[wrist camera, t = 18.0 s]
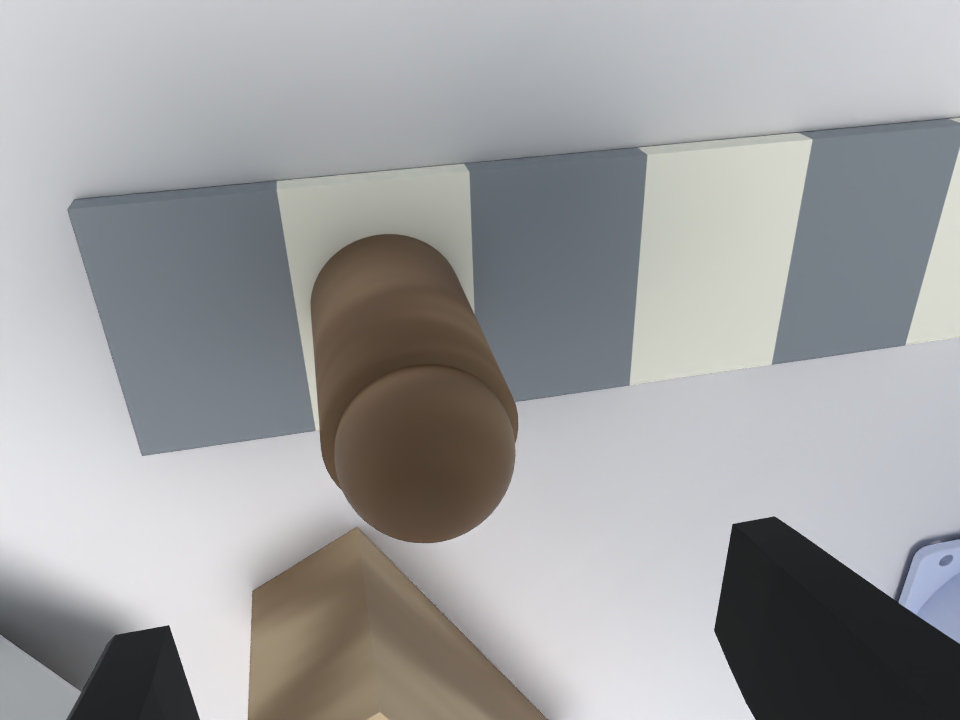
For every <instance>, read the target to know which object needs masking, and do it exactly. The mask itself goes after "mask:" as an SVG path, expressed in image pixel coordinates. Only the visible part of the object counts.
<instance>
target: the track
mask: <svg viewBox="0 0 960 720" xmlns="http://www.w3.org/2000/svg"><path fill="white" fill-rule="evenodd" d="M68 213H69V217H70V220H71V223H72V227H73V230H74V233H75V237H76V240H77V243H78V246H79V250H80V253H81V256H82V260H83V263H84V266H85V269H86V273H87V276H88V279H89V283H90V286H91V289H92V293H93V296H94V299H95V302H96V306H97V309H98V312H99V316H100V319H101V322H102V326H103V329H104V332H105V335H106V339H107V342H108V345H109V349H110V352H111V355H112V359H113V362H114V365H115V368H116V372H117V375H118V378H119V382H120V385H121V388H122V392H123V395H124V398H125V401H126V405H127V408H128V411H129V415H130V418H131V421H132V424H133V428H134V431H135V434H136V438H137V441H138V444H139V448H140V451H141V454H142V456H146V455H153V454H160V453H166V452H173V451H180V450H187V449H194V448H201V447H208V446H215V445H222V444H228V443H235V442H242V441H249V440H256V439H263V438H270V437H277V436H284V435H291V434H297V433H304V432H311V431H318V430H320V429H319V415H318V402H317V389H316V375H315V362H314V349H313V336H312V322H311V294H312V290H313V286H314V283H315V281H316V279H317V276H318V274H319V273H320V271H321V269H322V268H323V266H324V265H325V264H326V263H327V262H328V260H329V259H330V258H331V257H332V256H333V255H335V254H336V253H337V252H338V251H339V250H341V249H342V248H344V247H345V246H347V245H349V244H351V243H353V242H354V241H357V240H360V239H362V238H365V237H369V236H374V235H381V234H398V235H405V236H409V237H413V238H416V239H418V240H421V241H423V242H425V243H427V244H429V245H430V246H432V247H434V248H435V249H436V250H437V251H439V252H440V253H441V254H442V255H443V256H444V257H445V258H446V259H447V261H448V262H449V263H450V265H451V266H452V268H453V270H454V271H455V273H456V275H457V277H458V280H459V282H460V284H461V286H462V288H463V290H464V293H465V295H466V297H467V299H468V301H469V303H470V306H471V308H472V310H473V312H474V314H475V316H476V319H477V321H478V323H479V325H480V327H481V329H482V332H483V334H484V336H485V338H486V340H487V342H488V344H489V347H490V349H491V351H492V353H493V355H494V357H495V360H496V362H497V364H498V366H499V368H500V370H501V373H502V375H503V377H504V379H505V381H506V383H507V386H508V388H509V390H510V392H511V394H512V396H513V399H514V402H518V401H525V400H532V399H539V398H546V397H553V396H559V395H566V394H573V393H580V392H587V391H594V390H601V389H608V388H615V387H622V386H628V385H635V384H642V383H649V382H656V381H663V380H670V379H677V378H684V377H690V376H697V375H704V374H711V373H718V372H725V371H732V370H739V369H746V368H753V367H759V366H766V365H773V364H780V363H787V362H794V361H801V360H808V359H815V358H821V357H828V356H835V355H842V354H849V353H856V352H863V351H870V350H877V349H884V348H890V347H897V346H904V345H911V344H918V343H925V342H932V341H939V340H946V339H952V338H959V337H960V118H951V119H940V120H929V121H918V122H907V123H897V124H886V125H875V126H864V127H853V128H843V129H832V130H821V131H810V132H800V133H789V134H778V135H767V136H756V137H746V138H735V139H724V140H713V141H702V142H692V143H681V144H670V145H659V146H648V147H638V148H627V149H616V150H605V151H595V152H584V153H573V154H562V155H551V156H541V157H530V158H519V159H508V160H497V161H487V162H476V163H465V164H454V165H444V166H433V167H422V168H411V169H400V170H390V171H379V172H368V173H357V174H346V175H336V176H325V177H314V178H303V179H292V180H282V181H271V182H260V183H249V184H239V185H228V186H217V187H206V188H195V189H185V190H174V191H163V192H152V193H141V194H131V195H120V196H109V197H98V198H87V199H77V200H73V202H72V204H71V205H70V207H69V208H68Z"/></svg>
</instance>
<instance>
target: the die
mask: <svg viewBox="0 0 960 720" xmlns="http://www.w3.org/2000/svg"><path fill="white" fill-rule="evenodd" d="M80 694H81V691H79V690H78V689H77V688H75V687H74V686H72V685H71V684H69V683H68V682H67V681H65V680H64V679H62V678H61V677H60V676H58V675H57V674H55V673H54V672H52V671H51V670H50V669H48V668H47V667H45V666H44V665H42V664H41V663H40V662H38V661H37V660H35V659H34V658H33V657H31V656H30V655H28V654H27V653H25V652H24V651H23V650H21V649H20V648H18V647H17V646H15V645H14V644H13V643H11V642H10V641H8V640H7V639H6V638H4V637H3V636H1V635H0V720H66V719H67V717H68V715H69V714H70V712H71V710H72V708H73V706H74V705H75V703H76V701H77V699H78V697H79V696H80Z"/></svg>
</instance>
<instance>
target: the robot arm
mask: <svg viewBox="0 0 960 720" xmlns="http://www.w3.org/2000/svg"><path fill="white" fill-rule="evenodd" d="M714 631H715V634H716V636H717V638H718V641H719V643H720V645H721V648H722V650H723V652H724V655H725V657H726V659H727V662H728V664H729V666H730V669H731V671H732V673H733V675H734V678H735V680H736V682H737V684H738V686H739V688H740V691H741V693H742V695H743V697H744V699H745V702H746V704H747V705H748V707H749V709H750V711H751V712H752V714H753V716H754V718H755V719H756V720H960V539H958V540H953V541H948V542H942V543H937V544H932V545H928V546H925V547H923V548H921V549H919V550H918V551H917V552H916V554H915V555H914V557H913V560H912V563H911V566H910V569H909V572H908V575H907V578H906V581H905V584H904V587H903V590H902V593H901V596H900V599H899V602H897V601H895V600H894V599H892V598H891V597H889V596H888V595H886V594H885V593H884V592H882V591H881V590H879V589H878V588H876V587H875V586H874V585H872V584H871V583H869V582H868V581H866V580H865V579H864V578H862V577H861V576H859V575H858V574H856V573H855V572H854V571H852V570H851V569H849V568H848V567H847V566H845V565H844V564H842V563H841V562H839V561H838V560H837V559H835V558H834V557H832V556H831V555H830V554H828V553H827V552H825V551H824V550H823V549H821V548H820V547H818V546H817V545H815V544H814V543H813V542H811V541H810V540H808V539H807V538H806V537H804V536H803V535H801V534H800V533H798V532H797V531H795V530H794V529H793V528H791V527H790V526H788V525H787V524H785V523H784V522H782V521H781V520H779V519H778V518H776V517H769V518H764V519H758V520H753V521H747V522H741V523H736V524H733V525H732V531H731V537H730V542H729V548H728V554H727V560H726V565H725V571H724V577H723V583H722V589H721V594H720V600H719V606H718V612H717V617H716V623H715V629H714ZM66 720H200V719H199V716H198V713H197V709H196V706H195V703H194V700H193V697H192V694H191V691H190V688H189V685H188V682H187V679H186V676H185V673H184V670H183V666H182V663H181V660H180V657H179V654H178V651H177V648H176V645H175V642H174V639H173V636H172V633H171V630H170V627H169V625H168V626H163V627H157V628H152V629H146V630H141V631H135V632H129V633H124V634H118V635H115V636H114V637H113V638H112V639H111V640H110V641H109V642H108V644H107V645H106V647H105V649H104V651H103V653H102V655H101V657H100V659H99V661H98V662H97V664H96V666H95V668H94V670H93V672H92V674H91V675H90V677H89V679H88V681H87V683H86V685H85V687H84V688H83V690H82V692H81V694H80V696H79V697H78V699H77V701H76V703H75V705H74V706H73V708H72V710H71V712H70V714H69V715H68V717H67V719H66Z"/></svg>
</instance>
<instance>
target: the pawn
mask: <svg viewBox="0 0 960 720" xmlns="http://www.w3.org/2000/svg"><path fill="white" fill-rule="evenodd" d="M311 322H312V336H313V349H314V362H315V375H316V389H317V402H318V415H319V429H320V442H321V451H322V457H323V460H324V463H325V466H326V469H327V471H328V473H329V474H330V476H331V478H332V479H333V481H334V482H335V483H336V485H337V486H338V487H339V488H340V489H341V490H342V491H343V493H344V495H345V497H346V498H347V500H348V502H349V503H350V504H351V506H352V507H353V508H354V510H355V511H356V512H357V514H358V515H359V516H360V517H361V518H362V519H363V520H364V521H366V522H367V523H368V524H369V525H371V526H372V527H374V528H375V529H376V530H378V531H380V532H382V533H384V534H386V535H388V536H390V537H393V538H396V539H398V540H402V541H406V542H414V543H436V542H442V541H446V540H450V539H453V538H456V537H458V536H461V535H463V534H465V533H467V532H469V531H470V530H472V529H473V528H475V527H476V526H478V525H479V524H480V523H482V522H483V521H484V520H485V519H486V518H487V517H488V516H489V515H490V514H491V513H492V512H493V511H494V510H495V508H496V507H497V506H498V504H499V503H500V502H501V500H502V498H503V497H504V495H505V493H506V491H507V489H508V486H509V484H510V481H511V478H512V474H513V470H514V463H515V442H516V439H517V432H518V414H517V409H516V405H515V402H514V399H513V396H512V394H511V392H510V390H509V388H508V386H507V383H506V381H505V379H504V377H503V375H502V373H501V370H500V368H499V366H498V364H497V362H496V360H495V357H494V355H493V353H492V351H491V349H490V347H489V344H488V342H487V340H486V338H485V336H484V334H483V332H482V329H481V327H480V325H479V323H478V321H477V319H476V316H475V314H474V312H473V310H472V308H471V306H470V303H469V301H468V299H467V297H466V295H465V293H464V290H463V288H462V286H461V284H460V282H459V280H458V277H457V275H456V273H455V271H454V270H453V268H452V266H451V265H450V263H449V262H448V261H447V259H446V258H445V257H444V256H443V255H442V254H441V253H440V252H439V251H437V250H436V249H435V248H434V247H432V246H430V245H429V244H427V243H425V242H423V241H421V240H418V239H416V238H413V237H409V236H405V235H398V234H381V235H374V236H369V237H365V238H362V239H360V240H357V241H354V242H353V243H351V244H349V245H347V246H345V247H344V248H342V249H341V250H339V251H338V252H337V253H336V254H335V255H333V256H332V257H331V258H330V259H329V260H328V262H327V263H326V264H325V265H324V266H323V268H322V269H321V271H320V273H319V274H318V276H317V279H316V281H315V283H314V286H313V290H312V294H311Z"/></svg>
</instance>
